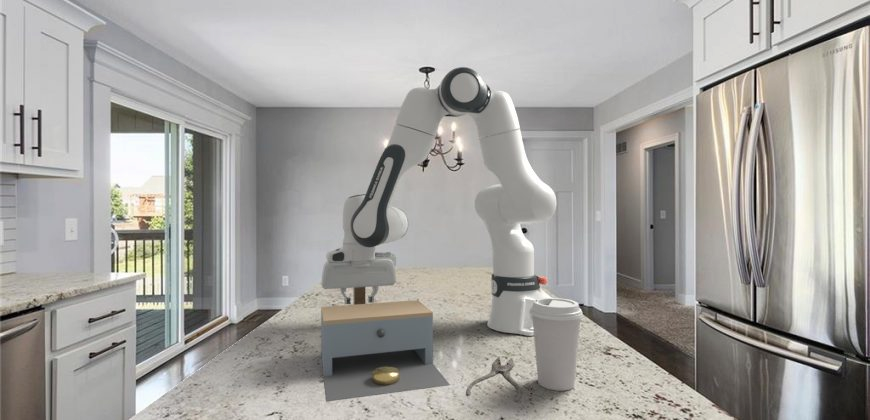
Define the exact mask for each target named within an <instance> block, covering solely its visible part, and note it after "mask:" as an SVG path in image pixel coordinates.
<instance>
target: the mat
mask: <svg viewBox="0 0 870 420" xmlns="http://www.w3.org/2000/svg"><path fill="white" fill-rule="evenodd" d="M380 367H394V368H397V369H398V370H399V381H398V382H397V383H395V384H393V385H387V386H381V385H376V384H374V383H373V382H372V372H373V370H374V369H376V368H380ZM323 381H324V390H325V391H324V392H325V401H326V402H333V401H341V400H348V399H355V398H364V397H371V396H378V395H379V396H380V395H386V394H392V393H393V394H394V393H401V392H408V391H410V392H411V391H415V390H422V389H423V390H424V389H431V388H439V387H446V386H447V387H448V386H450V385H451V383H449V380H447V378H445V376H444V375H443V374H442V373H441V372H440V371H439V369H438V368H437V367H436V366H435V364H434V363H433V364H425V363H424V362H423V361H422V359H421V358H420V357H419V355H418V354H417V353H416V351H415V350H414V349H412V350H403V351H393V352H383V353H374V354H364V355H354V356H345V357H335V358H332V375H330V376H324V375H323Z"/></svg>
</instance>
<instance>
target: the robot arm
mask: <svg viewBox="0 0 870 420" xmlns="http://www.w3.org/2000/svg"><path fill="white" fill-rule="evenodd" d="M466 115H469V116H471V118H472V119H473V121H474V123H475V126H476V129H477V135H478V140H479V144H480V149H481V154H482V159H483V164H484V166H485V168H486V169H487V170H489V171H490V172H492V173H493V174H494V175H495V176H496V177H497V179H498V181H499V183H500V184H493V185H490V186H487V187H485V188H482V189H480V190H479V191H478V192H477V194H476V196H475V199H474V209H475V212H476V214H477V216H479V218H480V219H481V220H482V221H483V222H484V224H485V226H486V229H487V231H488V234H489V239H490V241H491V246H492V248H491V249H492V274H491V280H490V281H491V283H490V284H491V285H490V288H491V295H492V296H491V304H490V312H489V315H488V321H487V323H486V324H487V327H488V328H489V329H492V330H494V331H497V332H502V333H506V334H507V333H508V334H517V335H522V336H527V337H534V329H533V319H532V315H531V314H530V313H529V312H530V309H531V306H533V303H534V301H535V300H537V299H541V298H553V297H551V296H550V295H549V294H548V293H546V292H545V290H543V289H542V288H541V286H540V285H543V286H545V285H547V284H548V278H547V277H545V276H538V275H536V274H535V249H534V245H533V243H532V242H531V241H530V240H529V239H527V237H526V236H525V235H524V233H523V230H522V226H521V225H534V224H535V225H536V224H540V223H544V222H547V221H549V220H551V219H552V218H553V216H554V214H555V213H556V210H557V205H558V204H557V197H556V193H555V191H554V190H553V189H552V187H550V186H549V185H548V184H547V183H545V182H544V181H542V180H541V179H540V178H539V176H538V175H537V174H536V172H535V171H534V169H533V168H532V166H531V164H530V161H529V159H528V157H527V154H526V150H525V145H524V141H523V137H522V131H521V127H520V123H519V122H520V121H519V118H518V113H517V111H516V107H515V105H514V103H513V100H512V98H511V96H510V95H509V93H507V92H506V91H503V90H498V89H495V90H492V89H491V87H490V86H489V85H488V84H487V83H486V82H485V80H484V79H483V78H482V77H481V75H480V74H479V73H478V72H477V71H476V70H475V69H473V68H469V67H465V66H462V67H461V66H459V67H456V68H454V69H452V70H450V71H449V72H447V73H446V75H445V76H444V77H443V78H442V79H441V81H440V83H439V85H438V86H437V87H436V88H431V89H430V88H428V87H420V86H419V87H415V88H412V89H410V90H409V91H408V92H407V94H406V96H405V98H404V100H403V102H402V104H401V105H400V109H399V111H398V115H397V117H396V120H395V124H394V126H393V130H392V132H391V135H390V138H389V141H388V143H387V145H386V147H385V149H384V150H383V152H382V153H381V155H380V158H379V160H378V162H377V164H376V167H375V169H374V172H373V175H372V177H371V180H370V183H369V185H368V187H367V190H366V193H364V194H362V193H361V194H355V195H352V196H349V197H348V198H346V200H345V201H344V204H343V212H342V230H343V235H344V236H343V240H342V247H339V248H337V249H333V250H331V251H328V252H327V253H326V261H325V263H324V265H323V268H322V275H321V287H322V288H323V289H324V290H337V289H340V290H339V291H340V293H341V295H342V297H343V298H344V305H352V304H351V301H352V300H351V296H347V294H346V293H347V289H353V288H357V287H365V288H371V289H372V290H373V291H372V292H371V294H369V295H367V298H368V299H367V303H368V304H371V303H375V296H376V294H377V293H378V292H379V287H388V286H390V287H391V286H394V285H395V284H396V282H397V276H396V275H397V274H396V269H395V267H396V265H397V257H396V255H395V254H393V253H392V252H388V251H387V252H376V246H379V245H382V244H389V243H392V242H396V241H399V240H400V239H402V238H403V237H404V236H406V234H407V231H408V228H409V219H408V217H407V214H406V213H405V212H404V211H403V210H402V209H400V208H399V207H395V206H392V205H390V204H391V201H392V198H393V196H394V193H395V190H396V189H397V185H398V183H399V180H400V179H401V177H402V176H403V175H404V174H405V173H407V171H409V170H410V169H411V168H414V167H415V166H417V165H420V164H422V163H423V162H424V161H425V160H427V158H428V157H429V154H430V152H431V151H432V148H433V147H434V146H433V145H434V142H435V140H436V135H437V132H438V129H439V125H440V124H441V121H443V118H444V117H456V118H457V117H462V116H466Z"/></svg>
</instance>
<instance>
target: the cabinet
mask: <svg viewBox="0 0 870 420" xmlns="http://www.w3.org/2000/svg"><path fill="white" fill-rule="evenodd" d="M320 310H321V311H320V313H321V315H320V316H321V317H320V325H321V327H320V329H321V331H320V334H321V335H320V336H321V343H320V345H321V346H320V347H321V349H320V350H321V351H320V354H321V364H322V372H323V377H324V376H330V375H332V358H335V357H345V356H354V355H364V354H374V353H383V352H393V351H403V350H412V349H414V350H415V351H416V353H417V354H418V355H419V357H420V358H421V359H422V361H423V362H424V363H425V364H434V342H433V341H434V327H433V326H434V320H433V319H434V315H433V313H434V312H433V311H432V310H430V309H429V308H428V307H427V306H426V305H425V304H423V303H422V302H421V301H419V300H418V299H415V300H403V301H402V300H401V301H389V302H374V303H365V304H357V305H353V304H346V305H345V304H344V305H333V306H331V305H330V306H328V305H327V306H320Z"/></svg>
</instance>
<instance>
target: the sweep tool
mask: <svg viewBox="0 0 870 420" xmlns="http://www.w3.org/2000/svg"><path fill="white" fill-rule="evenodd" d="M352 290H353V291H352V294H353V297H352V305H357V304H366V287H357V288H352Z"/></svg>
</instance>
